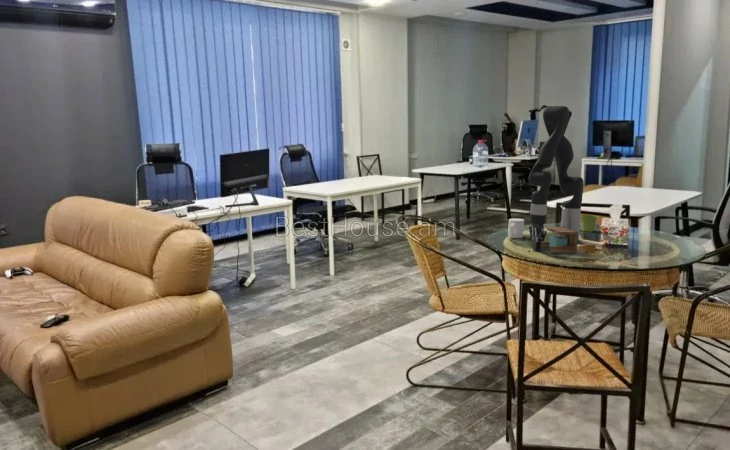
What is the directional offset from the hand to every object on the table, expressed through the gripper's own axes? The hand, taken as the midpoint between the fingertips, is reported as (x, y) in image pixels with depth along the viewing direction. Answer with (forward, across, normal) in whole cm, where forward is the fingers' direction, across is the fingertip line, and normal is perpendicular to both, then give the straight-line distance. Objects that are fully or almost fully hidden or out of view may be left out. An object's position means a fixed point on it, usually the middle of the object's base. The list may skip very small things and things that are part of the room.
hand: (536, 248), depth 268 cm
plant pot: (+1, -41, +53) cm, 67 cm away
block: (+1, 0, +6) cm, 7 cm away
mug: (+1, -34, +5) cm, 34 cm away
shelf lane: (+1, 0, +10) cm, 10 cm away
